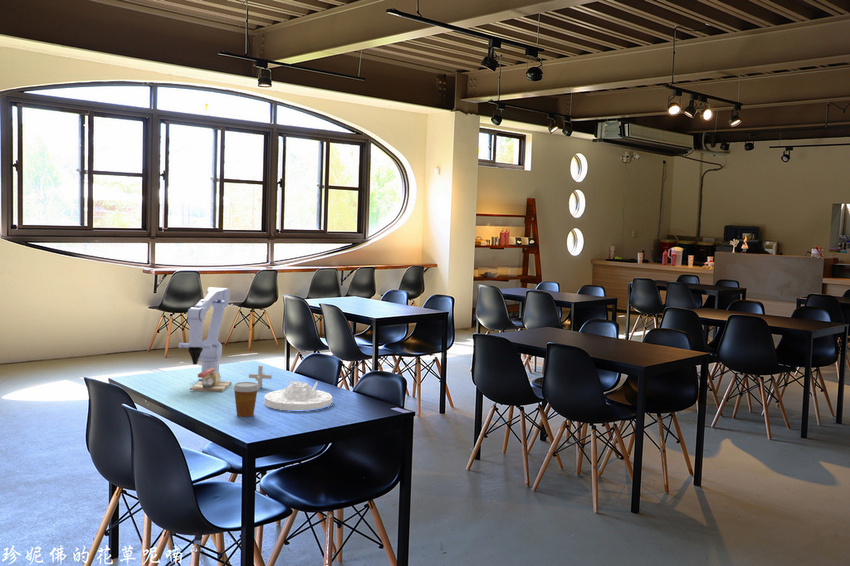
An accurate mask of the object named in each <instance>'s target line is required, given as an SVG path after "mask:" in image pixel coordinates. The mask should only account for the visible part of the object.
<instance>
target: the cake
mask: <svg viewBox="0 0 850 566" xmlns="http://www.w3.org/2000/svg"><path fill="white" fill-rule="evenodd" d="M317 386H318V381H316V382H315V383H314V384H313V387H312V385H310V384H309V383H307V382H306V381H305V382H302V381H301V380H298V381H294V380H293V378H291V379H290V382H289V385H287V387H286V388H285V386H282V387H283V389H278V390H274V391H270V392H267V393H266V394H265V395H264V400H263V401H264V406H265V405H266V406H265V407H267V406H268V407H267V408H269V407H271V408H274V409H273V410H275V409H280V410H279V411H281V410H308V409H316V408H321V407H324V406H327V405H329V404H331V403H332V404H333V396H332V395H331V393H329V392H326V391H324V390H319V389H317ZM316 389H317V390H316ZM271 408H270V409H271Z"/></svg>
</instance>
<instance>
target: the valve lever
mask: <svg viewBox="0 0 850 566" xmlns="http://www.w3.org/2000/svg"><path fill="white" fill-rule="evenodd" d="M213 371H214V368H209V369H208V370H206V371H204V372H202V371H201V372H200V373H197V378H198V379H199V378H204V377H206V376H207V375H208V374H210V373H211V372H213Z"/></svg>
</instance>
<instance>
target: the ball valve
mask: <svg viewBox="0 0 850 566" xmlns="http://www.w3.org/2000/svg"><path fill="white" fill-rule="evenodd" d="M220 376H221V372H219V373H215V372H214V371H213V372H211V373H210V374H208V375H207V376H206V377H204V378H203V380H202V381H203V382H202V386H203V388H212V386H214V387H216V386H217V385H218V384H219V382H220V379H221V377H220Z"/></svg>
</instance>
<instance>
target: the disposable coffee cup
mask: <svg viewBox="0 0 850 566" xmlns="http://www.w3.org/2000/svg"><path fill="white" fill-rule="evenodd" d="M232 388H233V390H234V400H235V401H234V402H235V409H236V410H235V411H236V416H238V417H241V418H249V417H252V416H254V414H255V409H256V408H255V407H256V403H257V395H258V391H259V389H260V388H259V387H258V382H257V383H256V382H253V381H252V382H251V381H240V382H236V383H235V384H234V386H233V387H232ZM248 416H249V417H248Z"/></svg>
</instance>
